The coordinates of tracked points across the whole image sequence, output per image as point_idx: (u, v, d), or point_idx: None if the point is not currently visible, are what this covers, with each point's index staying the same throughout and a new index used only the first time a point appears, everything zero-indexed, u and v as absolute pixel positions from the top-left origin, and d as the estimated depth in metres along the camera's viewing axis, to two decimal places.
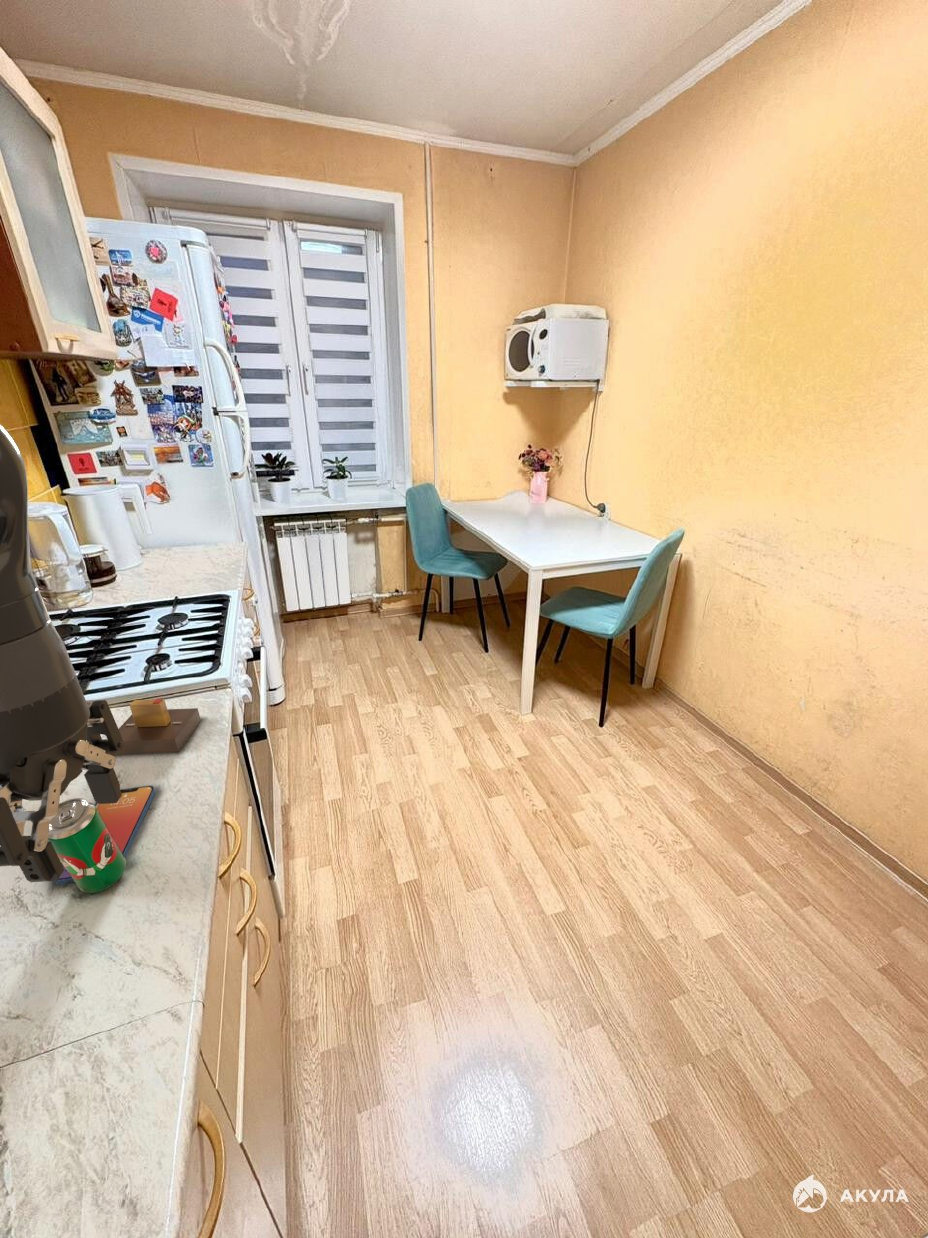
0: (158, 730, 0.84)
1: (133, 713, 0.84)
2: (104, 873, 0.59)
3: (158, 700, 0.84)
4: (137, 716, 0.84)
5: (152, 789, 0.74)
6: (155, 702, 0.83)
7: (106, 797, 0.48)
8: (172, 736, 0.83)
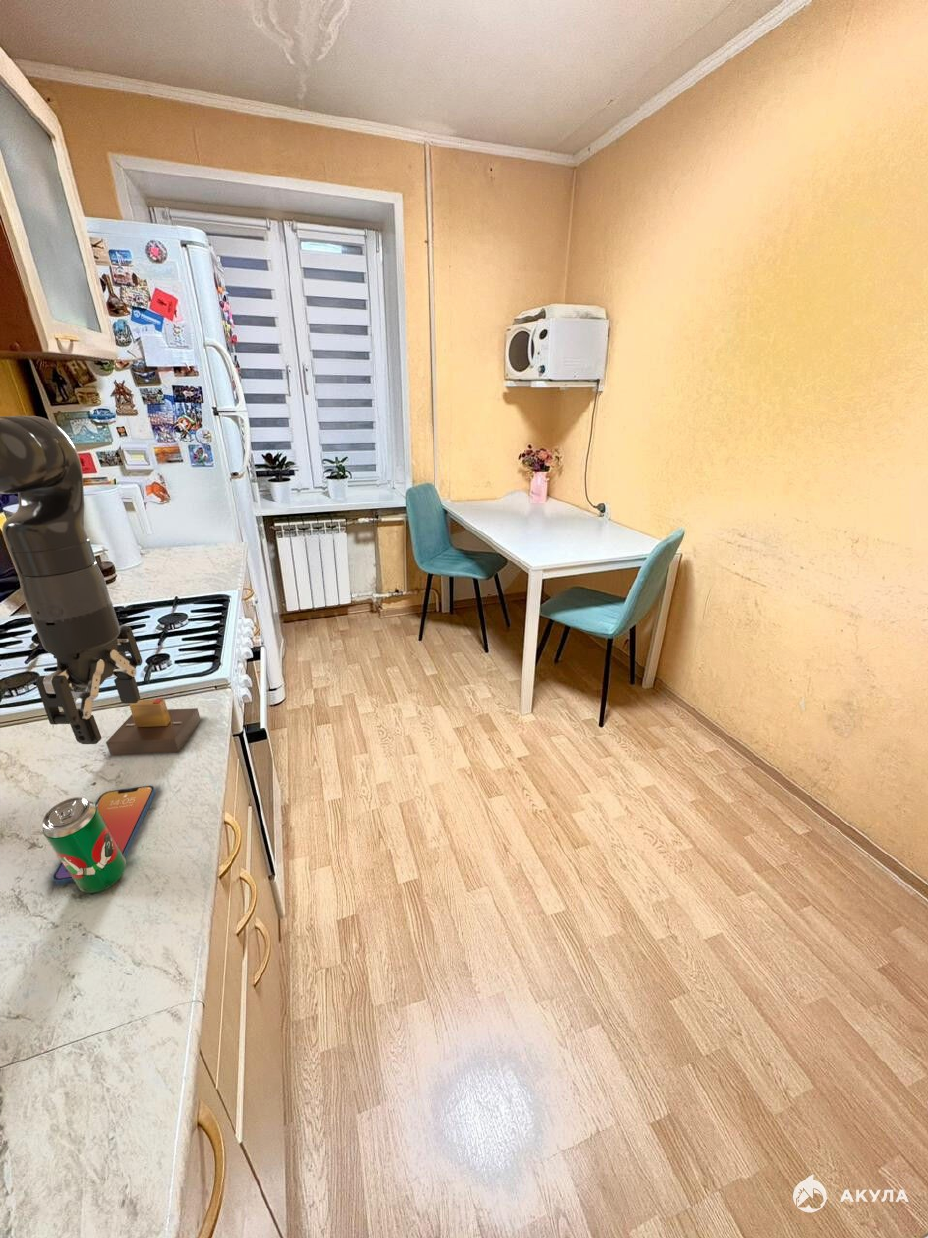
0: (158, 730, 0.84)
1: (133, 713, 0.84)
2: (104, 872, 0.59)
3: (158, 700, 0.84)
4: (137, 716, 0.84)
5: (152, 789, 0.74)
6: (155, 702, 0.83)
7: (129, 698, 0.67)
8: (172, 736, 0.83)
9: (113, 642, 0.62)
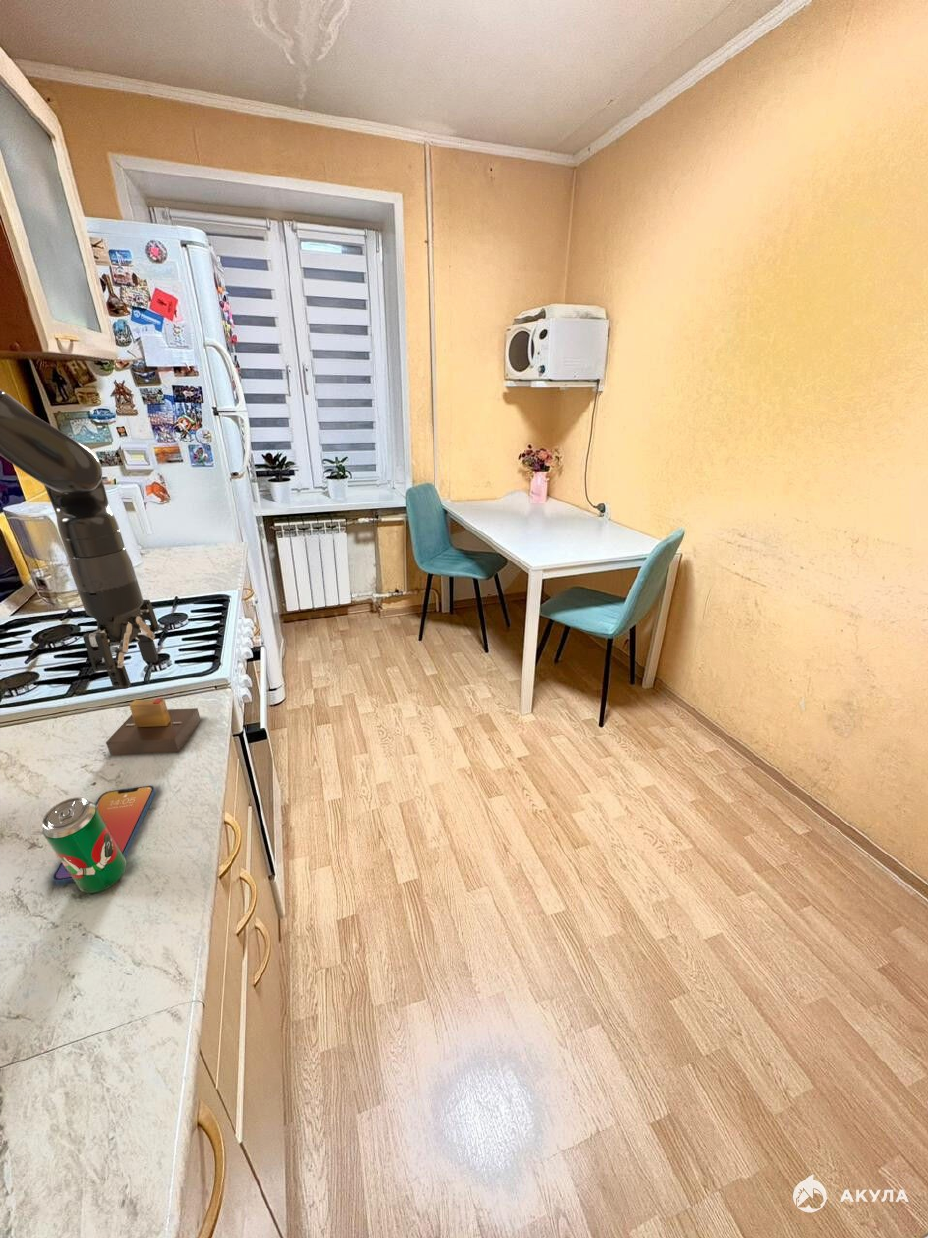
0: (158, 730, 0.84)
1: (133, 713, 0.84)
2: (104, 872, 0.59)
3: (158, 700, 0.84)
4: (137, 716, 0.84)
5: (152, 789, 0.74)
6: (155, 702, 0.83)
7: (149, 657, 0.84)
8: (172, 736, 0.83)
9: (137, 611, 0.80)
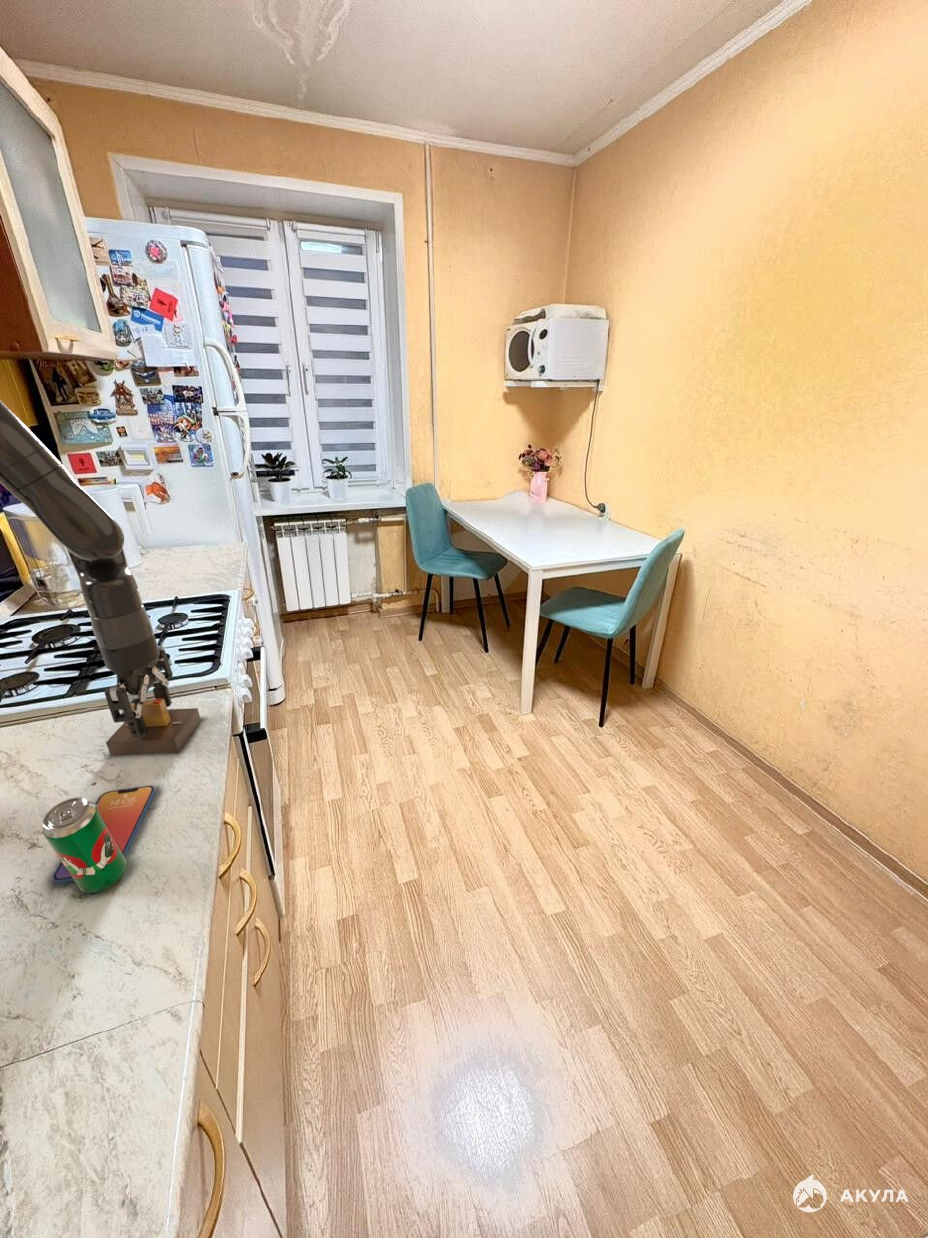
0: (158, 730, 0.84)
1: None
2: (104, 872, 0.59)
3: (158, 700, 0.84)
4: None
5: (152, 789, 0.74)
6: (155, 702, 0.83)
7: None
8: (172, 736, 0.83)
9: (153, 661, 0.84)
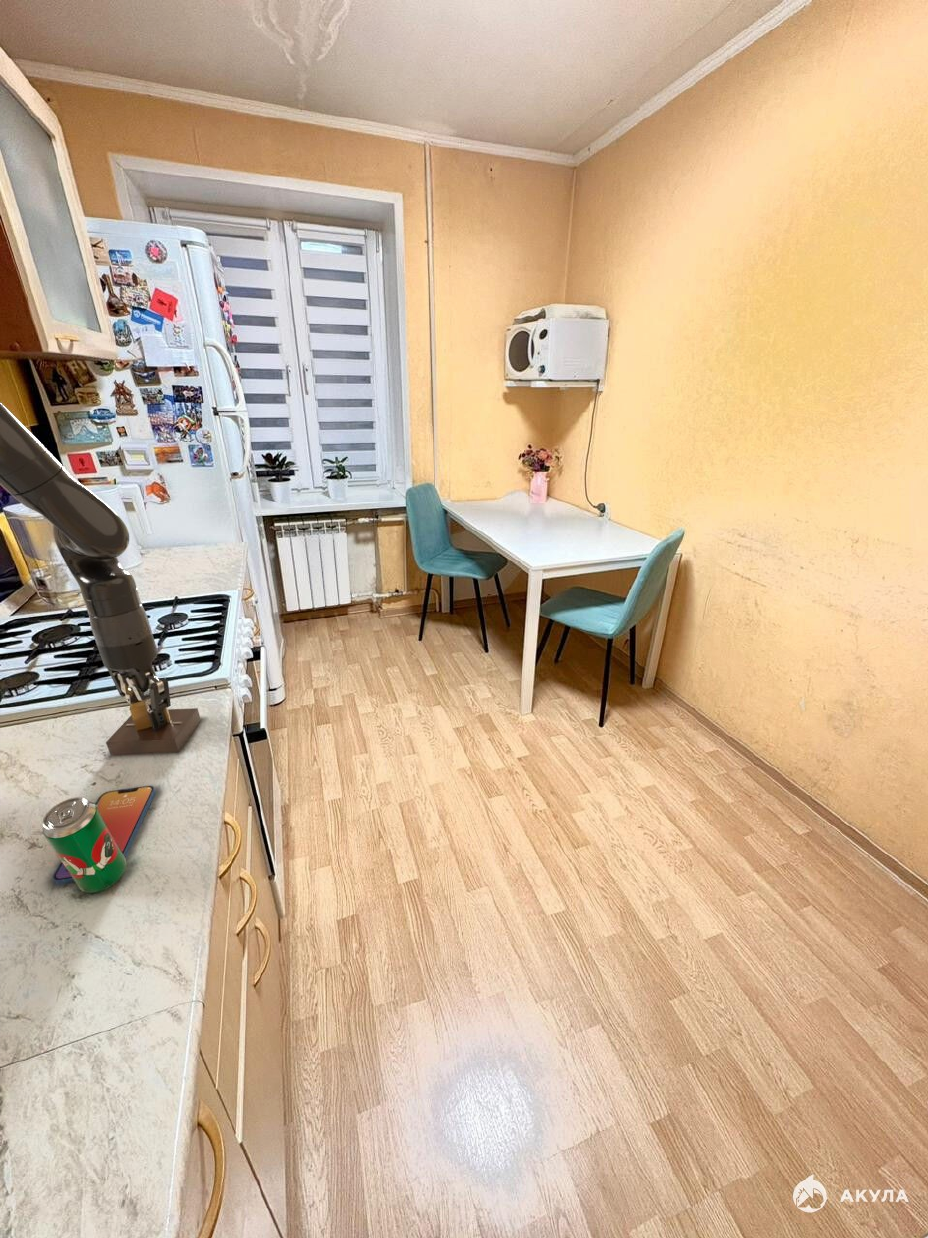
0: (158, 730, 0.84)
1: (134, 716, 0.83)
2: (104, 872, 0.59)
3: None
4: (138, 718, 0.83)
5: (152, 789, 0.74)
6: None
7: None
8: (172, 736, 0.83)
9: None
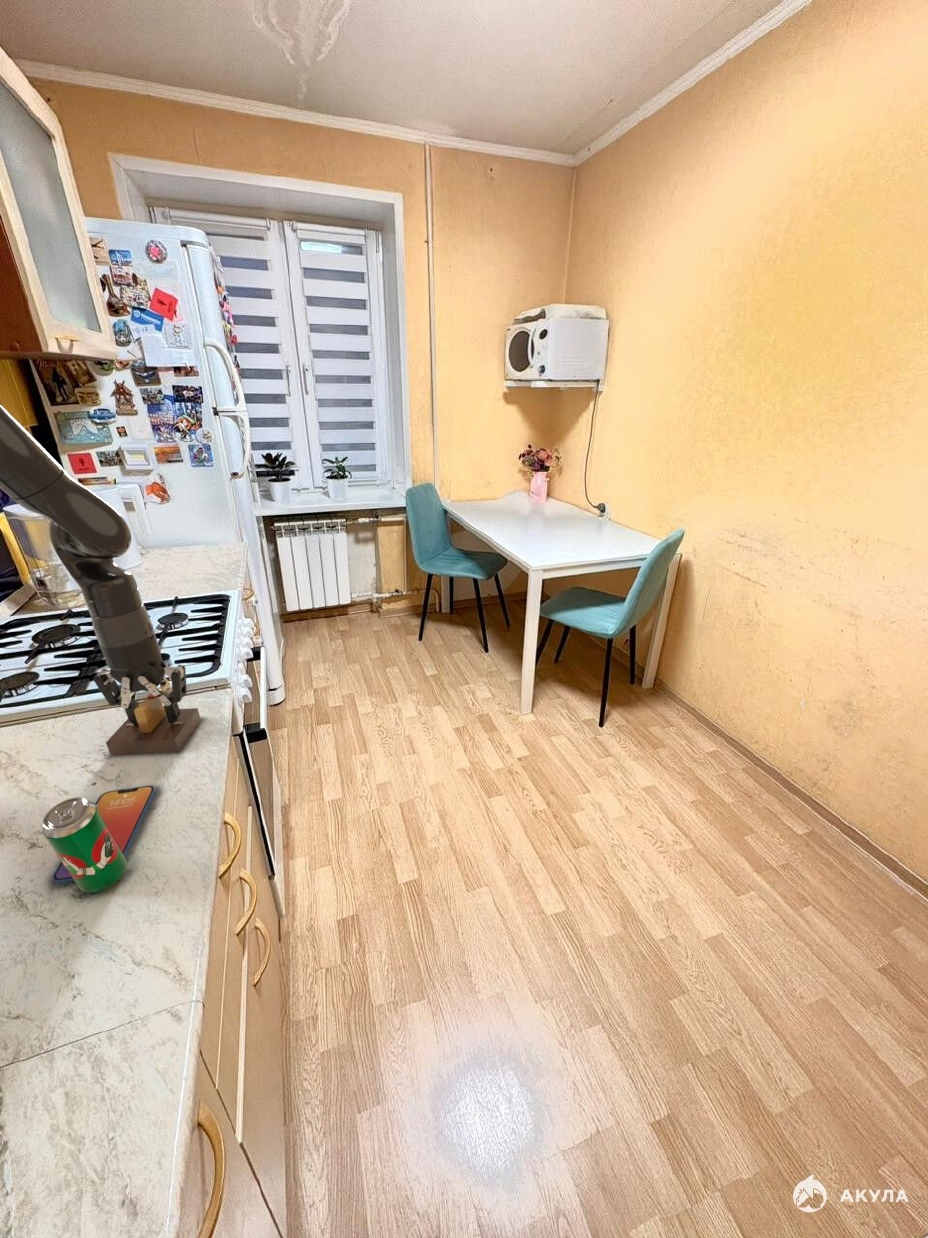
0: (158, 730, 0.84)
1: (147, 717, 0.83)
2: (104, 872, 0.59)
3: None
4: (149, 719, 0.83)
5: (152, 789, 0.74)
6: None
7: None
8: (172, 736, 0.83)
9: None
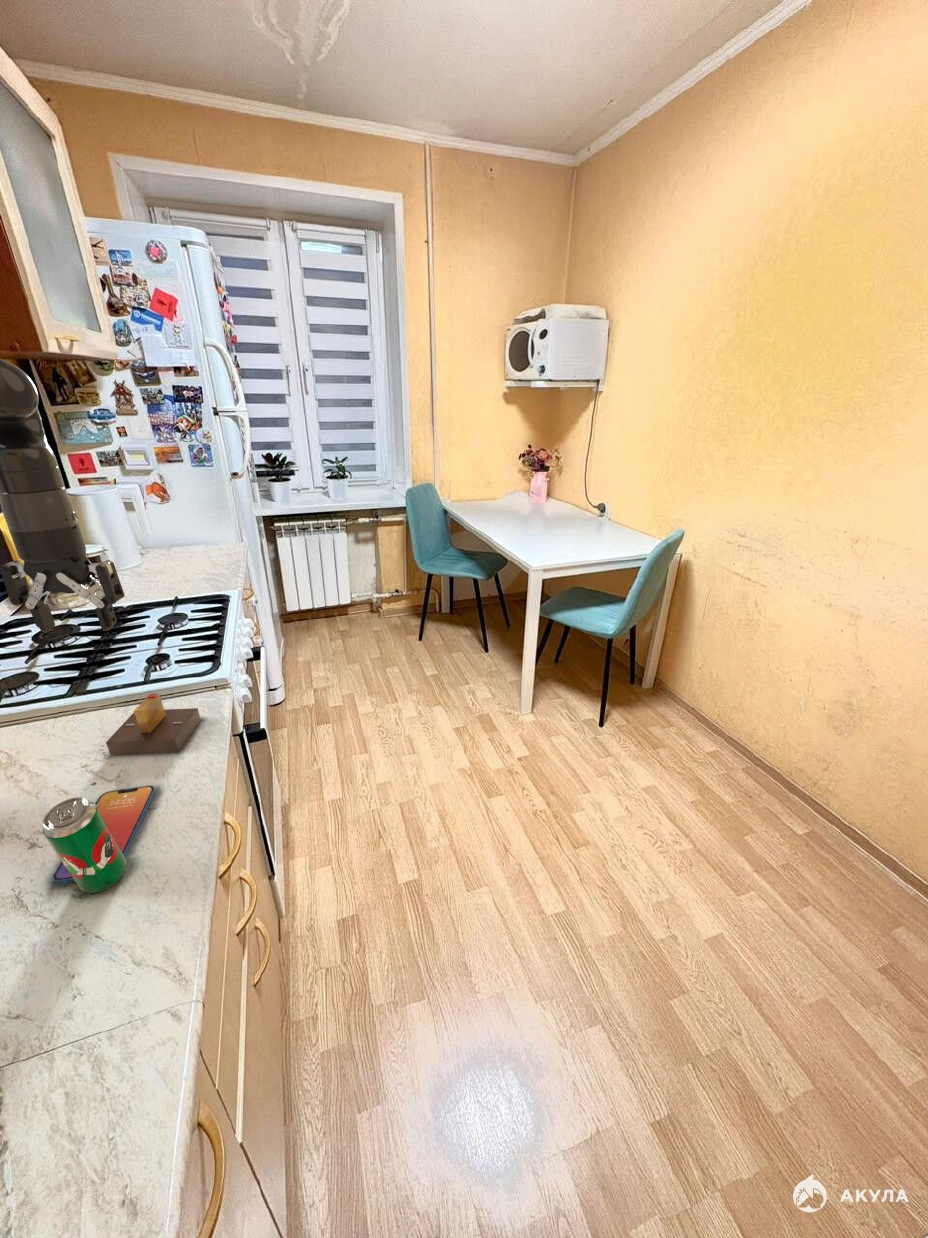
0: (158, 730, 0.84)
1: (147, 717, 0.83)
2: (104, 873, 0.59)
3: (152, 694, 0.86)
4: (149, 719, 0.83)
5: (152, 789, 0.74)
6: (155, 695, 0.85)
7: (49, 624, 0.74)
8: (172, 736, 0.83)
9: None
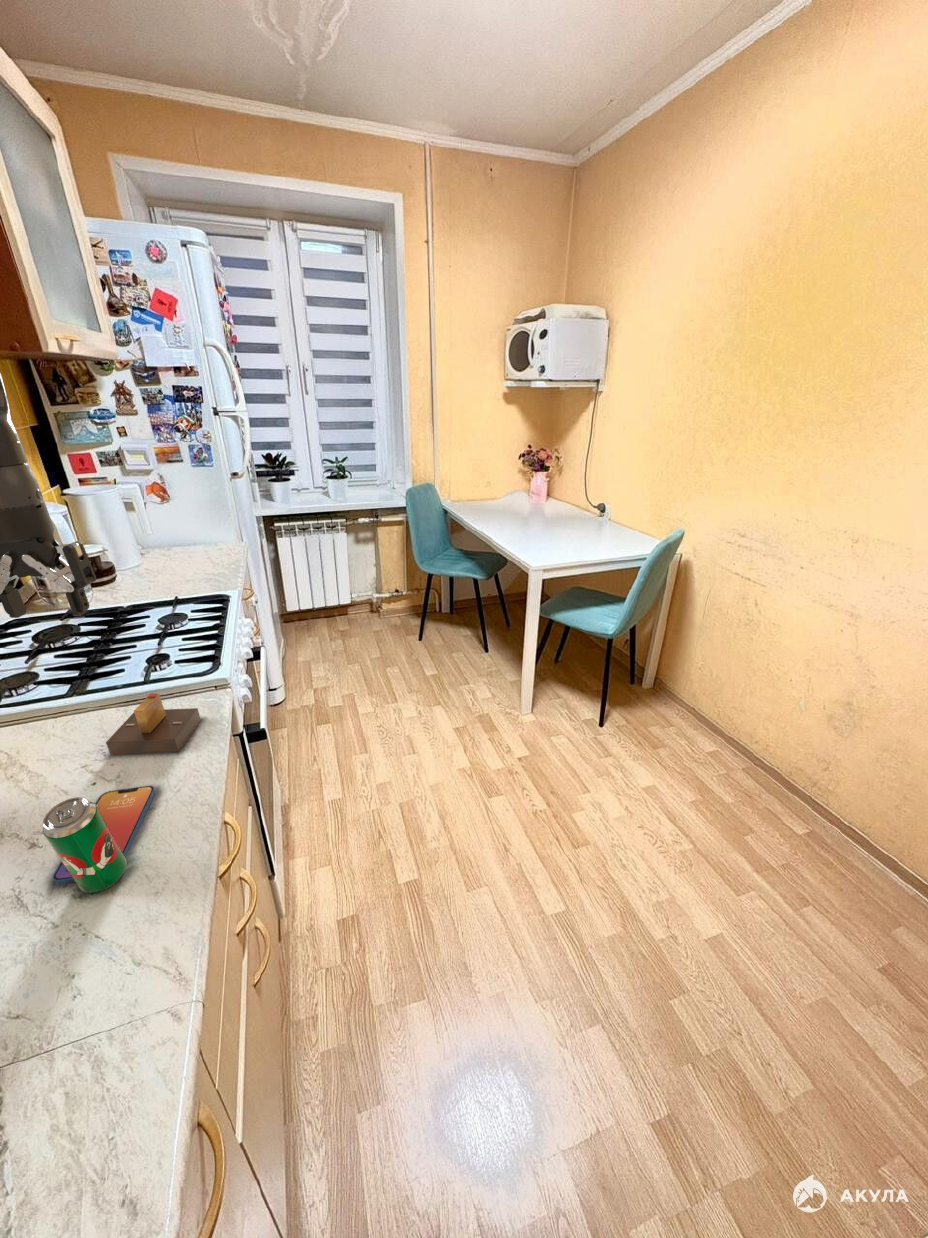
0: (158, 730, 0.84)
1: (147, 717, 0.83)
2: (104, 873, 0.59)
3: (152, 694, 0.86)
4: (149, 719, 0.83)
5: (152, 789, 0.74)
6: (155, 695, 0.85)
7: (20, 610, 0.71)
8: (172, 736, 0.83)
9: None
